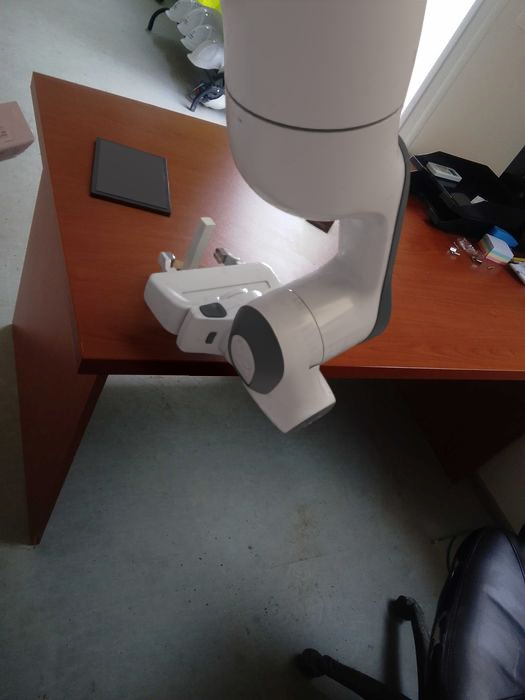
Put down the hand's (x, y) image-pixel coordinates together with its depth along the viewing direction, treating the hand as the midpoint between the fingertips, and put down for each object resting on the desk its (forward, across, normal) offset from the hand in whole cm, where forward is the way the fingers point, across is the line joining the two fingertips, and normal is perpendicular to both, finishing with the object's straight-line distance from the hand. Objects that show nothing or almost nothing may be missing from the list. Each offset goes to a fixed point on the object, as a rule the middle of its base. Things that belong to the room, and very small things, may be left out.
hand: (192, 253), depth 65 cm
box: (+16, -49, +9) cm, 52 cm away
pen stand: (-1, 0, +9) cm, 9 cm away
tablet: (+31, -7, +9) cm, 33 cm away
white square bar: (-1, 0, +9) cm, 9 cm away
